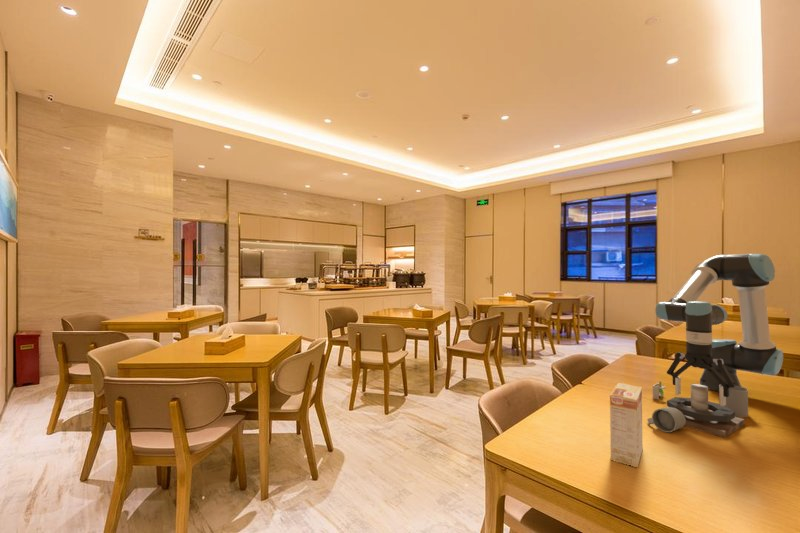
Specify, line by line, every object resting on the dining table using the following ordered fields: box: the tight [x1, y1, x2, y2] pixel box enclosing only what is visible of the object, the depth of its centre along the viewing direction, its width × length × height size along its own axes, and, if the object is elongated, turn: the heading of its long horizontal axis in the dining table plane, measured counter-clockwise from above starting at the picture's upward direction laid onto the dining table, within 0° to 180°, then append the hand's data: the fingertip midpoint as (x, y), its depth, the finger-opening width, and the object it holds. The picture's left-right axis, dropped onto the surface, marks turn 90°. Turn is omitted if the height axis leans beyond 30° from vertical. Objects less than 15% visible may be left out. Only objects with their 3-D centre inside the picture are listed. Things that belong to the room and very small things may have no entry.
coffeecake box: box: [609, 382, 644, 468], centre depth 110 cm, size 15×7×20 cm, turn 141°
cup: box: [718, 385, 749, 418], centre depth 142 cm, size 8×8×10 cm
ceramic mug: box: [646, 406, 686, 433], centre depth 129 cm, size 11×8×8 cm
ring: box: [666, 396, 736, 422], centre depth 134 cm, size 18×18×2 cm
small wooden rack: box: [652, 380, 667, 400], centre depth 159 cm, size 4×7×8 cm, turn 127°
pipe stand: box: [683, 383, 746, 439], centre depth 134 cm, size 20×20×13 cm
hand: (699, 399), depth 135 cm, fingers open, 13 cm apart
